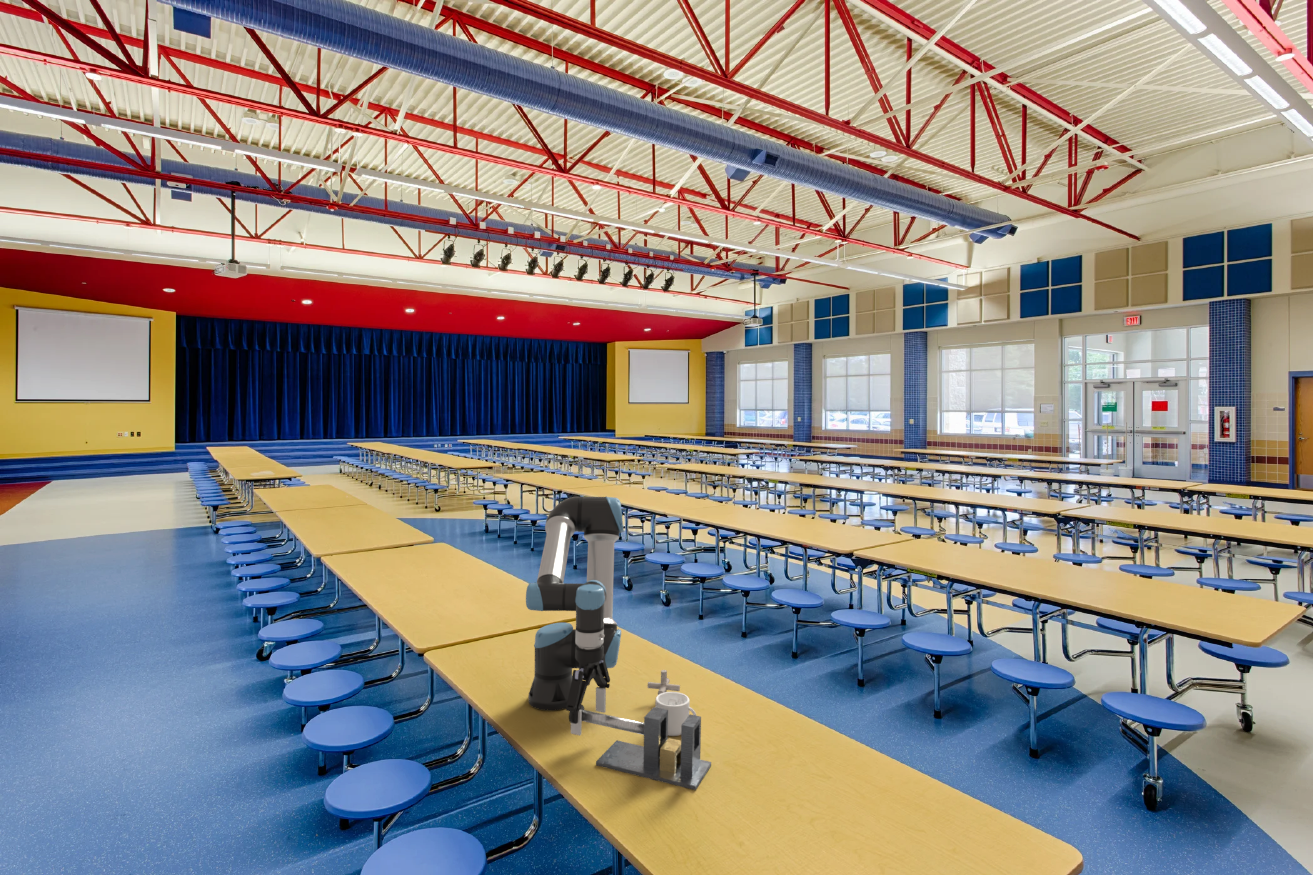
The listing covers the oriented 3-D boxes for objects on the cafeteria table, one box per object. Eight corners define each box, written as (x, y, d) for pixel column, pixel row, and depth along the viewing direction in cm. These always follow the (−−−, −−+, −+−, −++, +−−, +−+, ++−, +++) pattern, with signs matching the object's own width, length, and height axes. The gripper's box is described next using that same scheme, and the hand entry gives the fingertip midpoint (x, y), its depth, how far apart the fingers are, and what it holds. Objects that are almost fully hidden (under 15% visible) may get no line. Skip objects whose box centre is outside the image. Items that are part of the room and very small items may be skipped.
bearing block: (595, 765, 168) (596, 712, 167) (616, 743, 179) (617, 694, 178) (695, 790, 157) (696, 734, 157) (711, 765, 168) (712, 713, 168)
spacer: (659, 769, 164) (660, 748, 164) (668, 758, 170) (668, 737, 169) (674, 773, 163) (675, 751, 163) (682, 762, 168) (683, 741, 168)
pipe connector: (676, 711, 199) (677, 678, 199) (644, 707, 201) (644, 675, 201) (681, 697, 209) (682, 666, 208) (651, 694, 211) (651, 663, 210)
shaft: (568, 726, 175) (568, 707, 175) (578, 718, 179) (578, 700, 179) (647, 744, 166) (648, 725, 166) (655, 735, 170) (655, 716, 170)
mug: (701, 725, 190) (701, 694, 190) (691, 742, 180) (692, 709, 180) (662, 718, 194) (662, 688, 194) (650, 734, 184) (650, 702, 184)
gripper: (578, 663, 162) (577, 747, 163) (622, 631, 184) (621, 705, 186) (552, 658, 164) (551, 740, 166) (599, 627, 187) (598, 700, 189)
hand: (588, 722), depth 176 cm, fingers open, 13 cm apart
